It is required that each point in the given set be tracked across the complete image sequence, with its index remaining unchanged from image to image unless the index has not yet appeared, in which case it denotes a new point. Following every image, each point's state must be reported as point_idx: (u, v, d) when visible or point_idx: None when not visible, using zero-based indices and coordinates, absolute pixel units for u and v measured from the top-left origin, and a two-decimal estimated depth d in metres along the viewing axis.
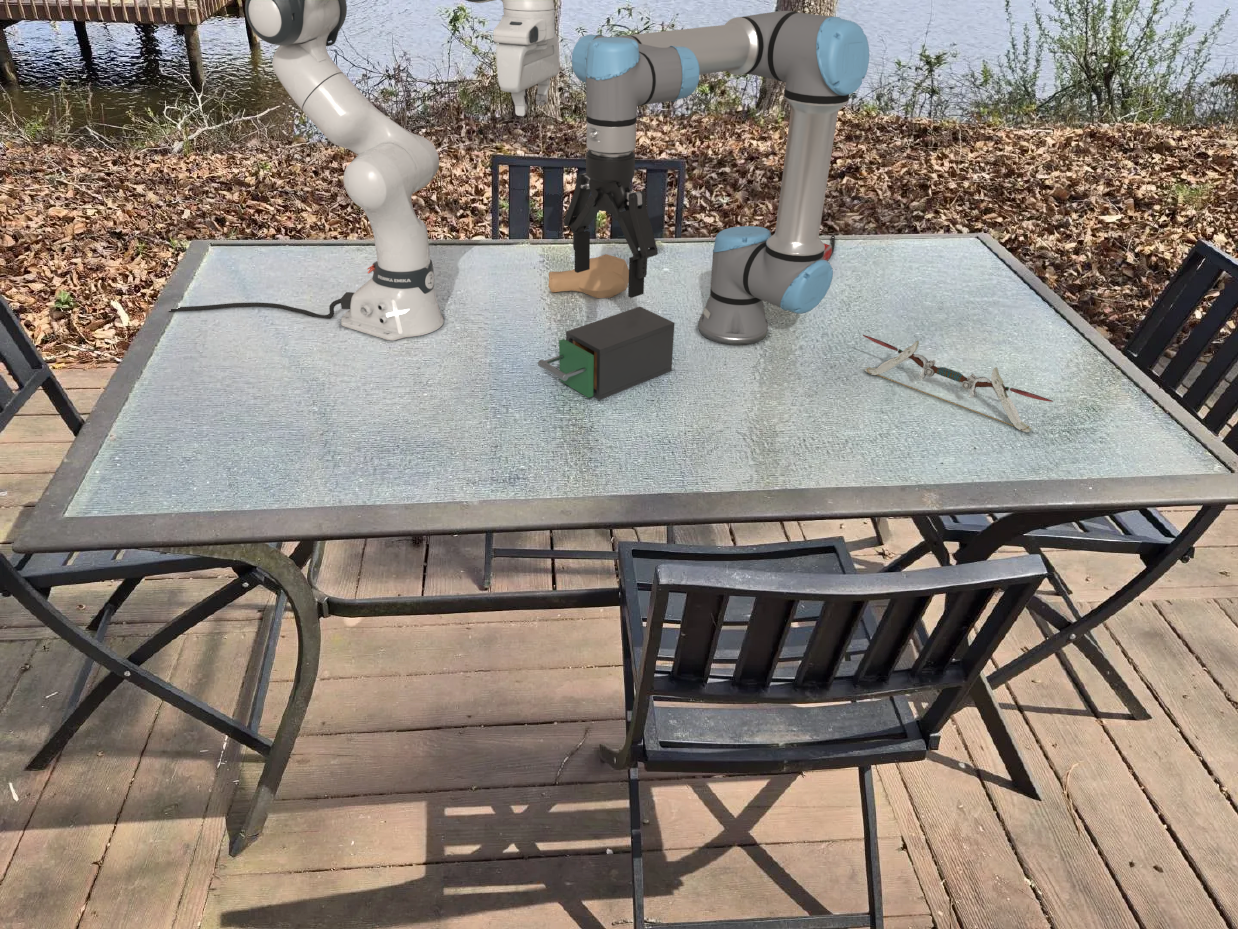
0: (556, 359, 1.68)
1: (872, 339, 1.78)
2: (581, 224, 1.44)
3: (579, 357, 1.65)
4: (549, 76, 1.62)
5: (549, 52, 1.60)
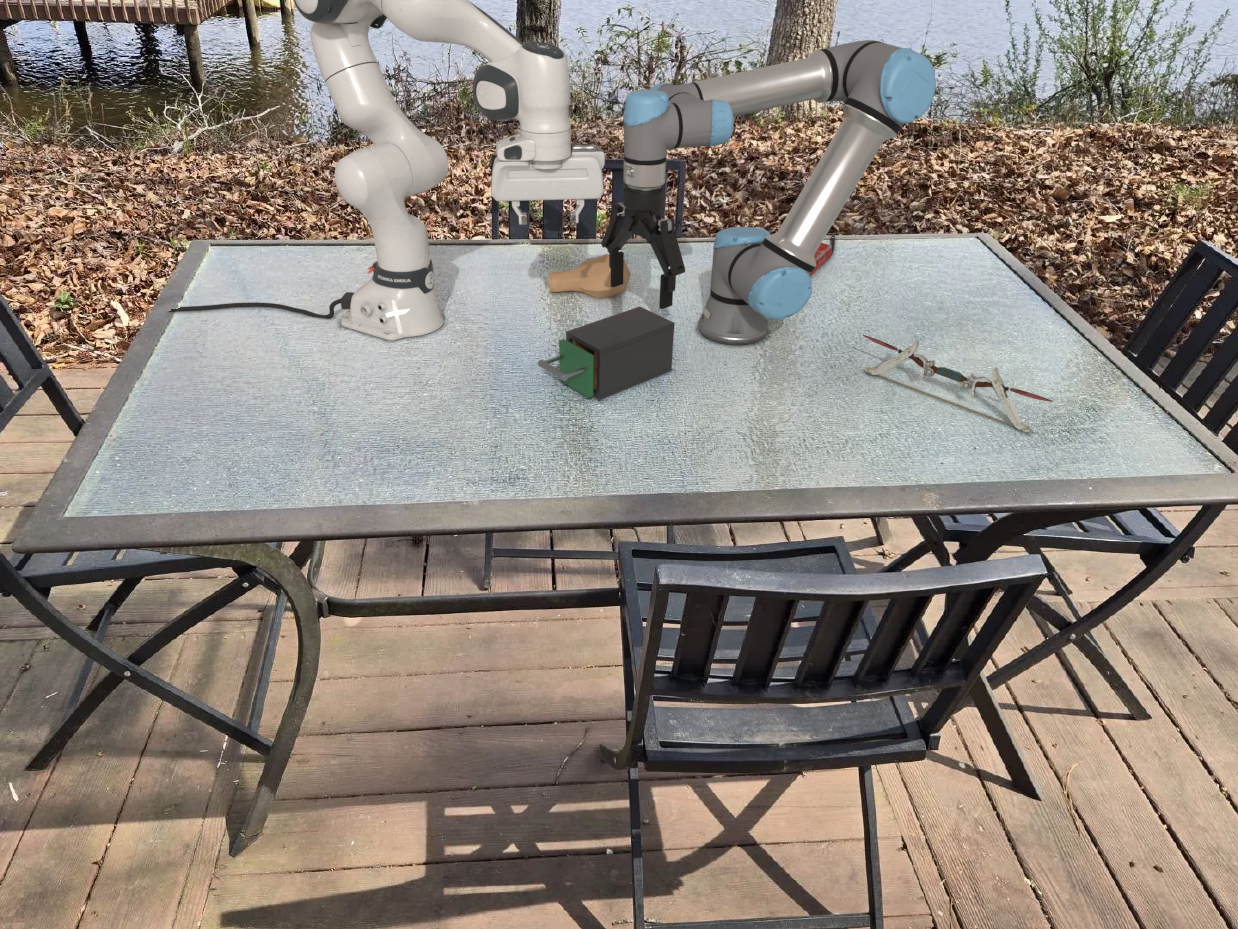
0: (556, 359, 1.68)
1: (872, 339, 1.78)
2: (617, 246, 1.67)
3: (579, 357, 1.65)
4: (573, 197, 1.58)
5: (577, 174, 1.56)
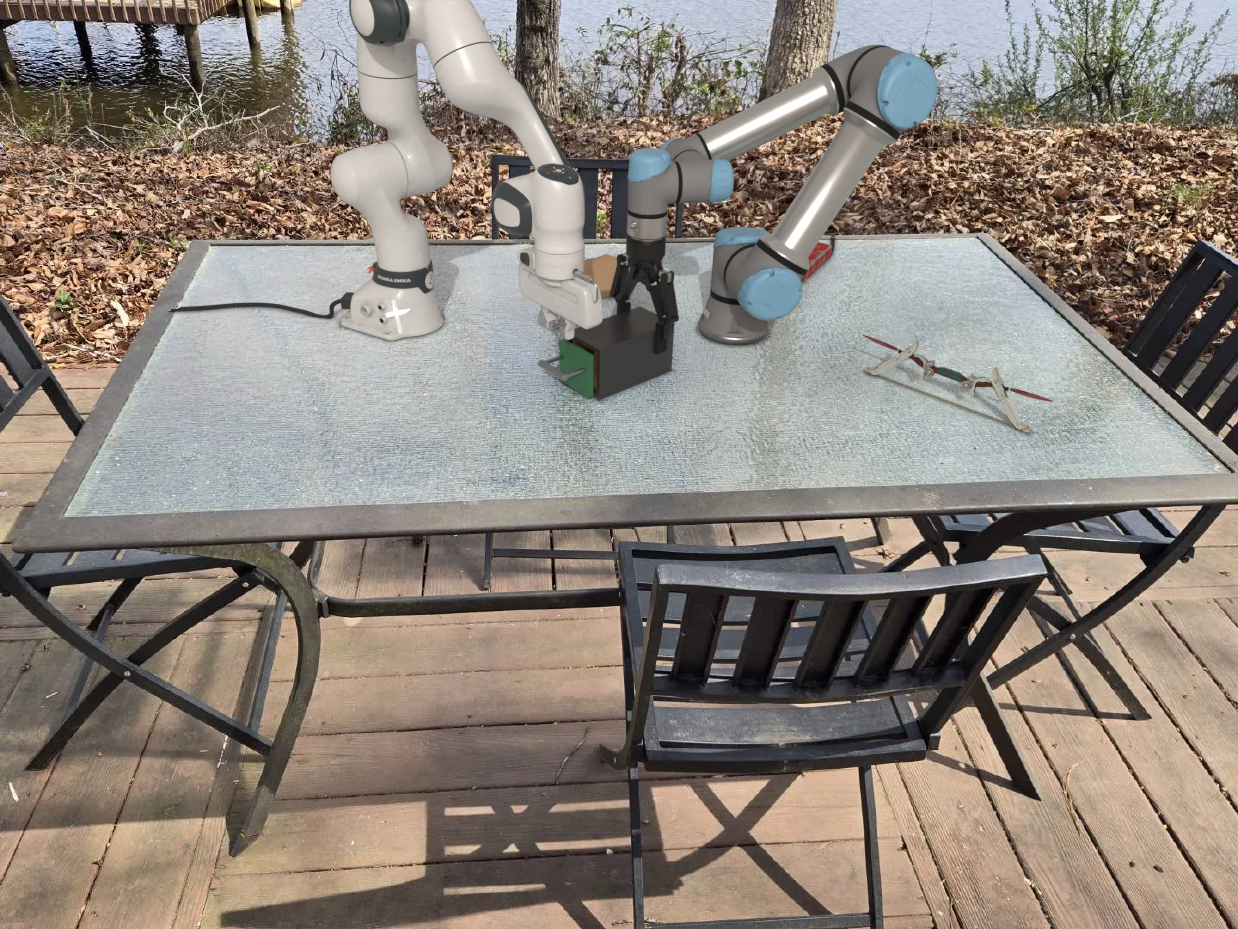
0: (556, 359, 1.68)
1: (872, 339, 1.78)
2: (623, 295, 1.75)
3: (579, 357, 1.65)
4: (568, 318, 1.55)
5: (572, 299, 1.53)
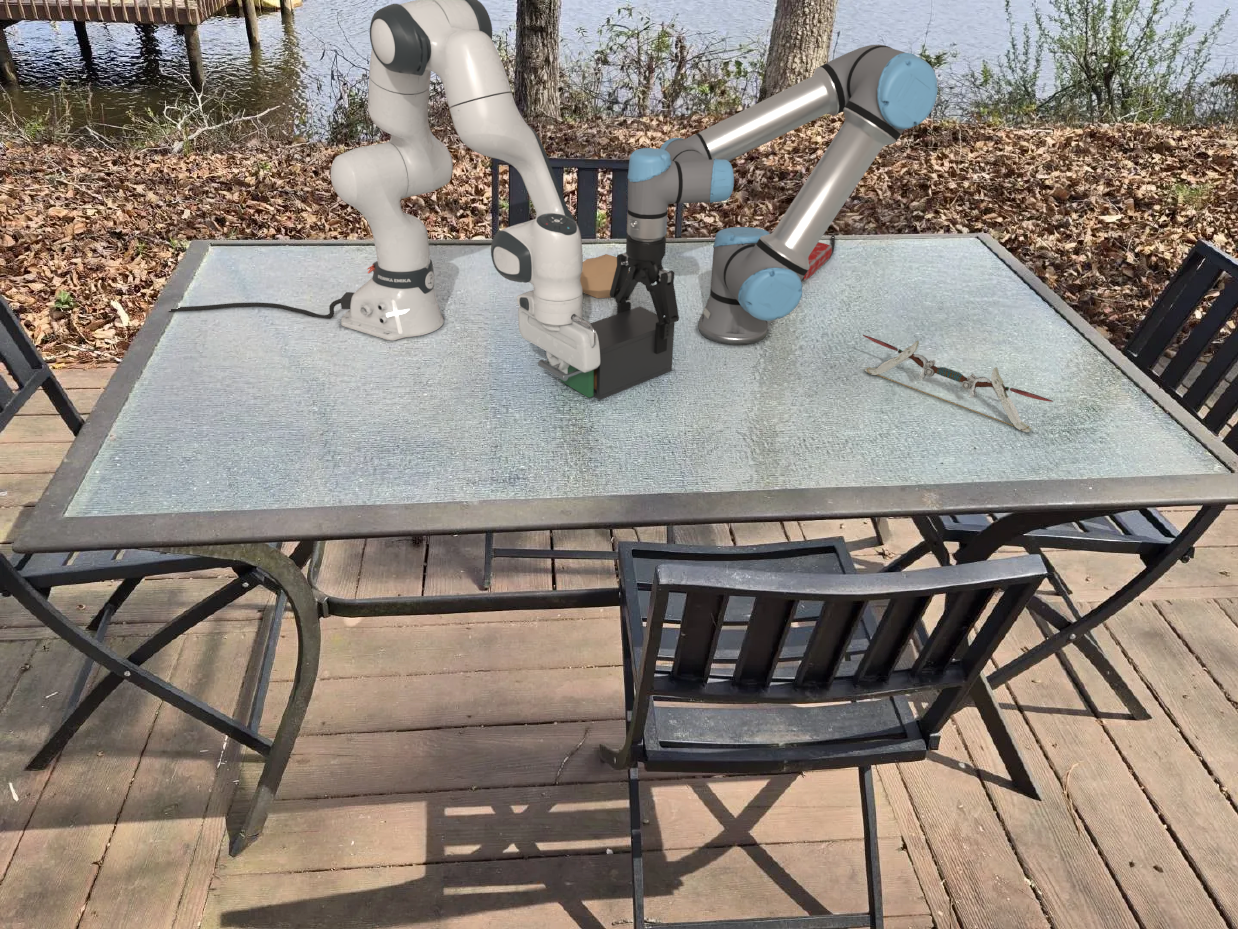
0: None
1: (872, 339, 1.78)
2: (623, 295, 1.75)
3: None
4: (566, 361, 1.59)
5: (570, 343, 1.57)
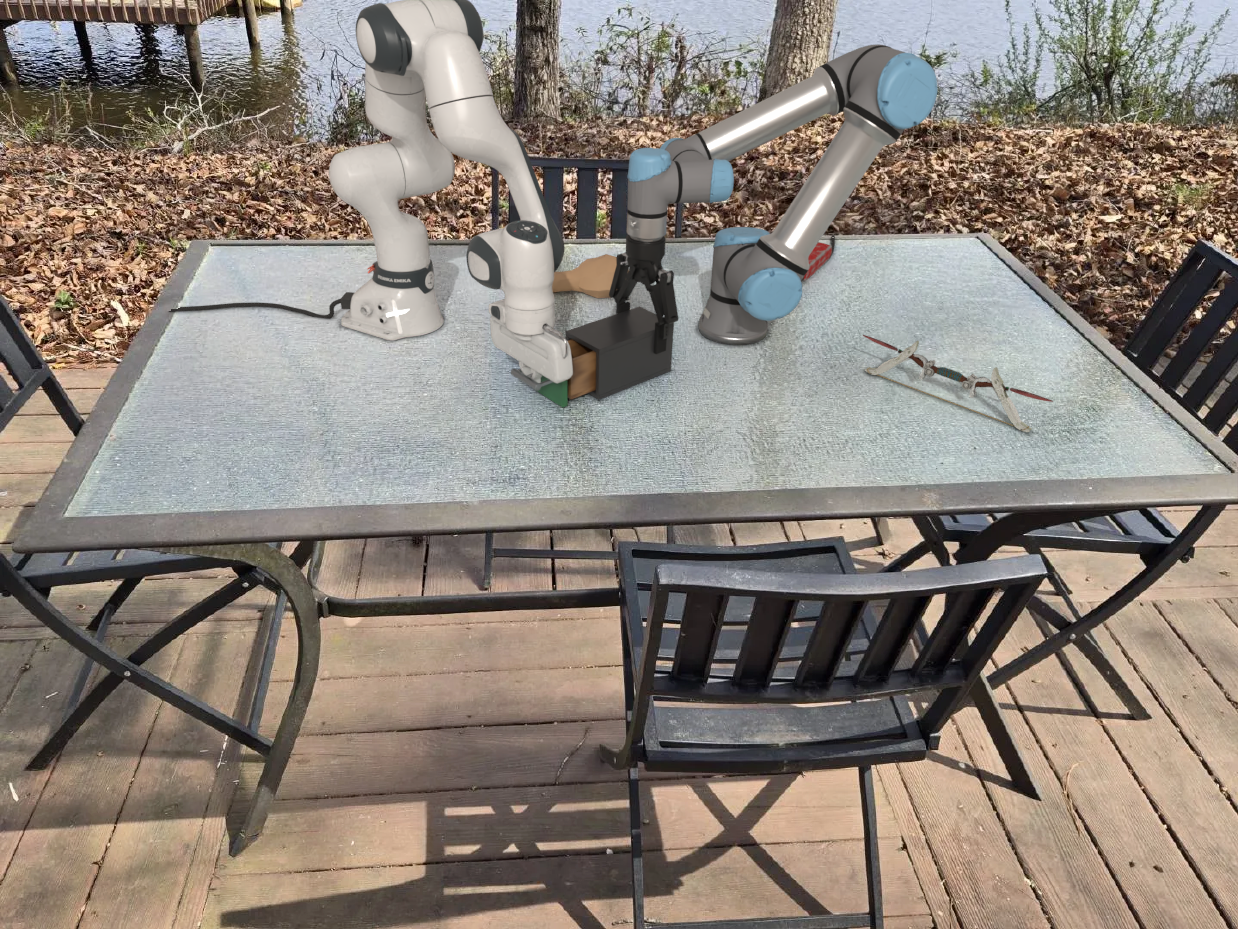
0: None
1: (872, 339, 1.78)
2: (623, 295, 1.75)
3: None
4: (538, 371, 1.56)
5: (542, 353, 1.53)
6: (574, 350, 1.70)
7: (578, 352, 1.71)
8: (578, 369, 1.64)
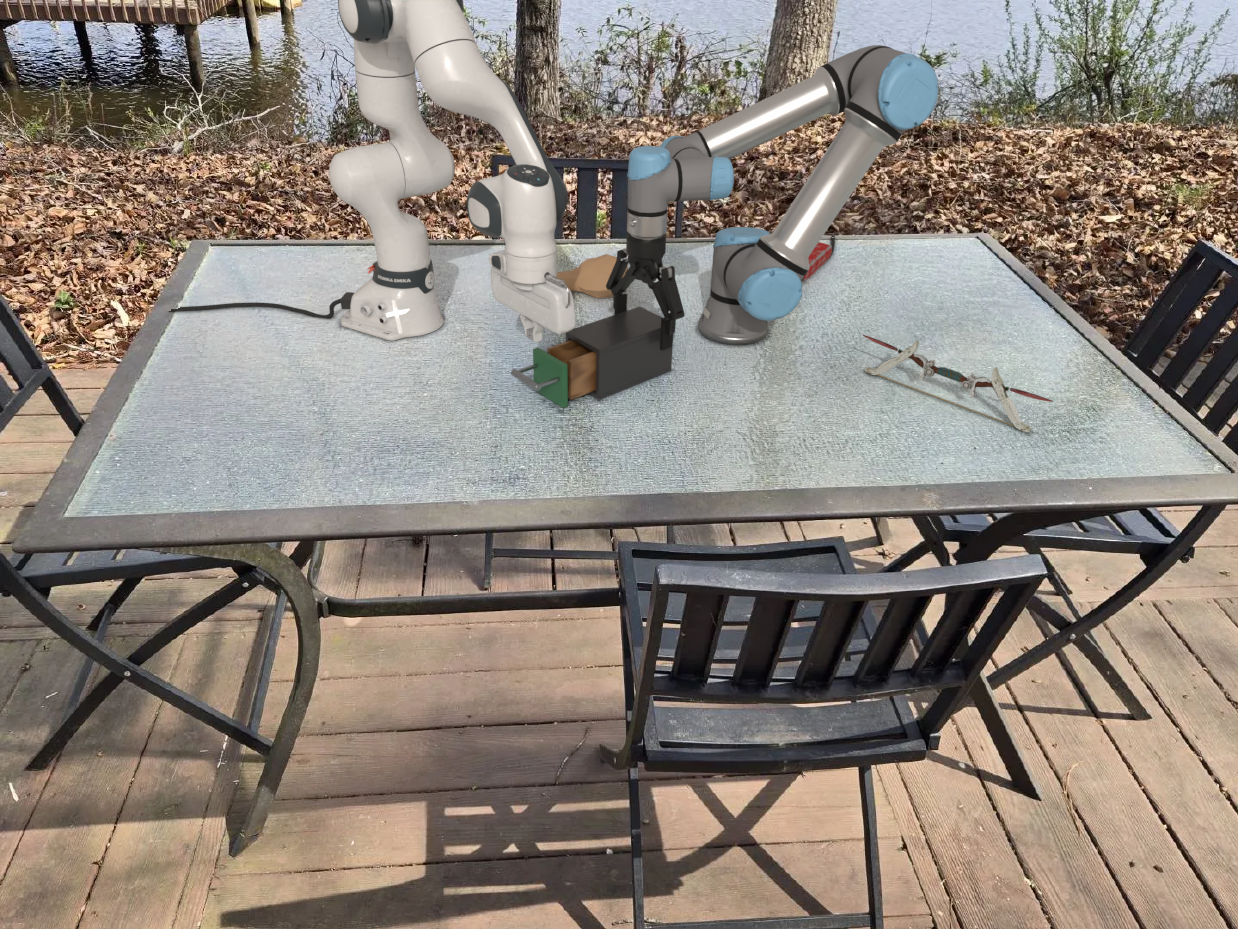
0: (530, 368, 1.65)
1: (872, 339, 1.78)
2: (620, 289, 1.76)
3: (552, 367, 1.62)
4: (540, 323, 1.51)
5: (543, 303, 1.49)
6: (574, 350, 1.70)
7: (578, 352, 1.71)
8: (578, 369, 1.64)
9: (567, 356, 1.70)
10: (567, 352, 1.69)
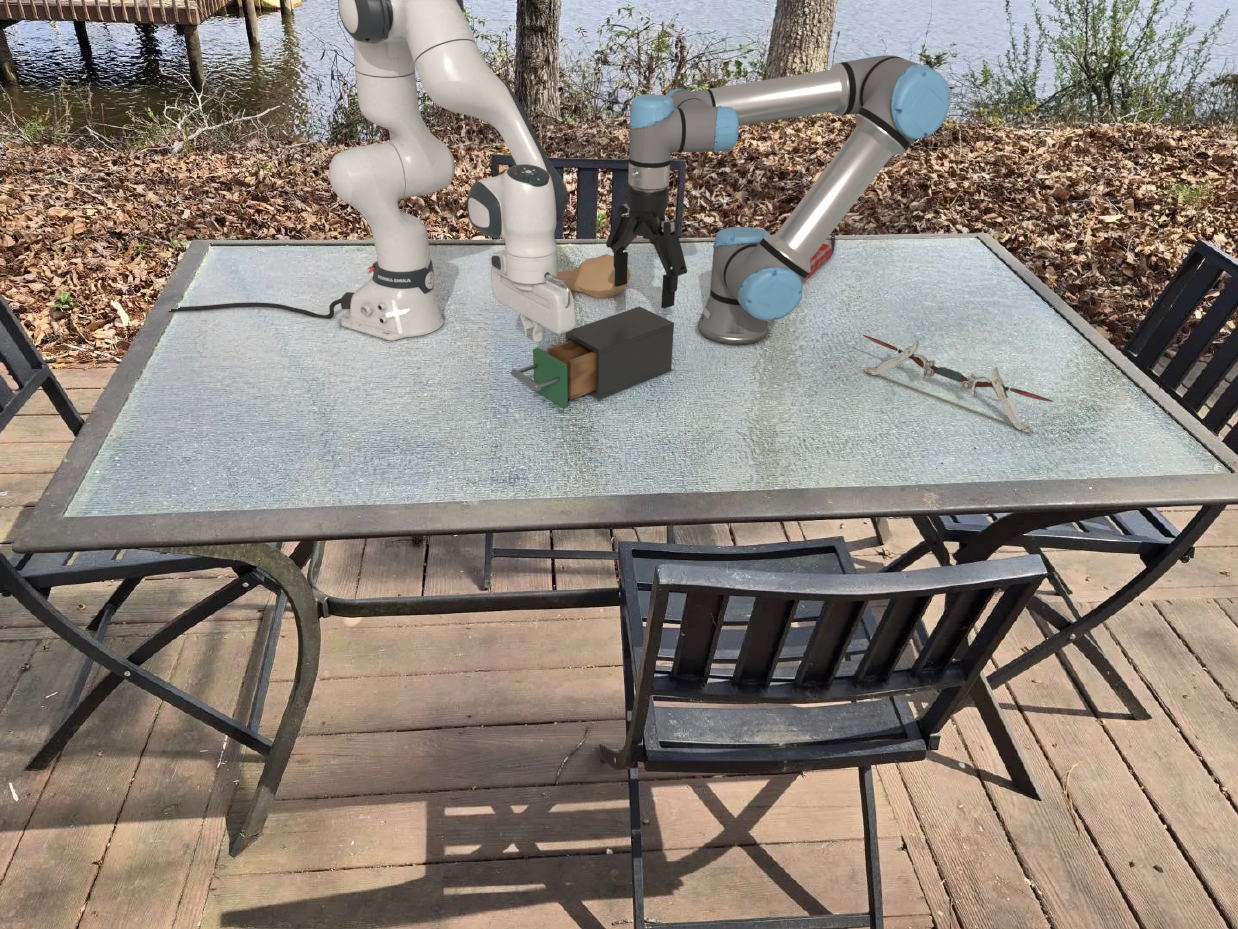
0: (530, 368, 1.65)
1: (872, 339, 1.78)
2: (621, 246, 1.71)
3: (552, 367, 1.62)
4: (540, 323, 1.51)
5: (544, 303, 1.49)
6: (574, 350, 1.70)
7: (578, 352, 1.71)
8: (578, 369, 1.64)
9: (567, 356, 1.70)
10: (567, 352, 1.69)
